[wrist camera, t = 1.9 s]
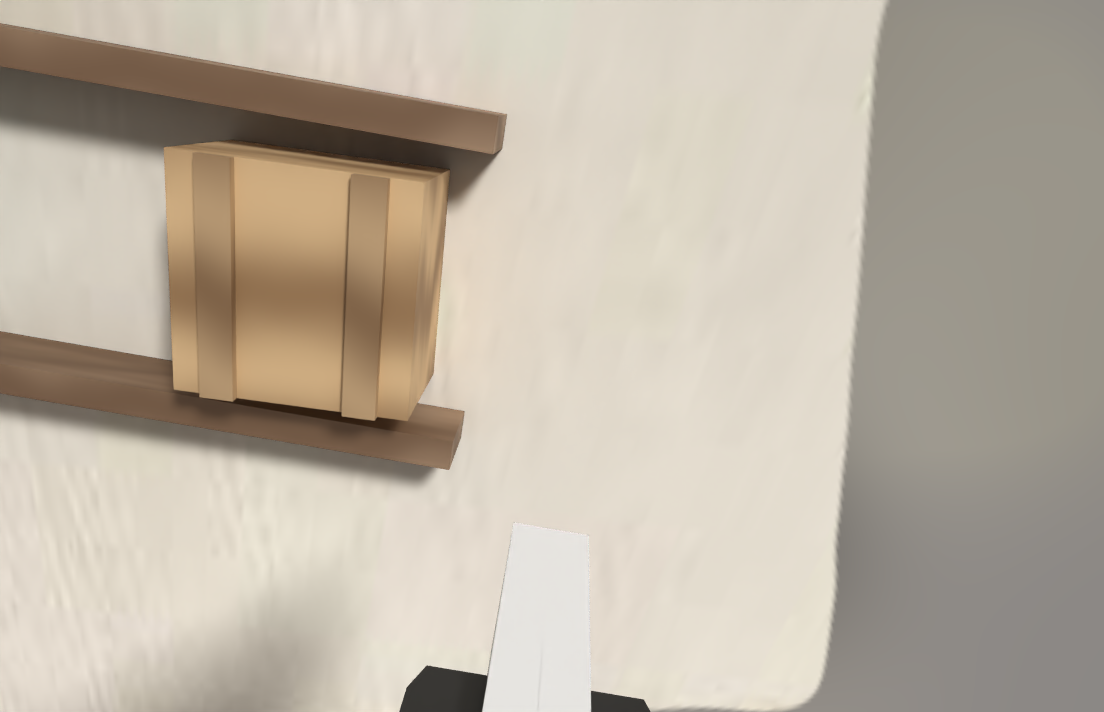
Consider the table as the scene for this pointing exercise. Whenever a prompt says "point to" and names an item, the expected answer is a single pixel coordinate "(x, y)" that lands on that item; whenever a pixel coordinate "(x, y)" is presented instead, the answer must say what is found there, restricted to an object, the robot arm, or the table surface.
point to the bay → (150, 380)
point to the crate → (303, 276)
